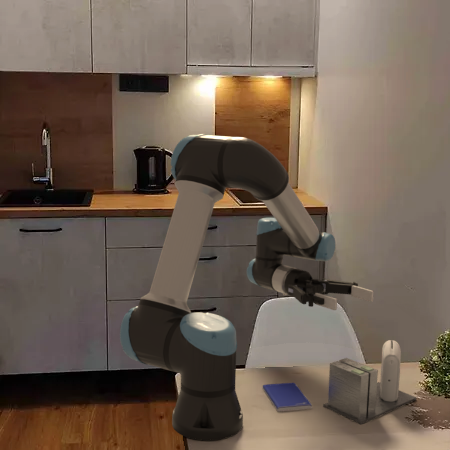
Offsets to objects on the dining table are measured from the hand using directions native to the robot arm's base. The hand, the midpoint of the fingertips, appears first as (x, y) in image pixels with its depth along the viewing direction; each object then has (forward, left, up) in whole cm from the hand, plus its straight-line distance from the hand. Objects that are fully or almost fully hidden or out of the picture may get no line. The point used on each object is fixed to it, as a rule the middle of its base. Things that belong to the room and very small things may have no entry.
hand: (354, 300), depth 175 cm
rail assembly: (-7, -12, -20) cm, 25 cm away
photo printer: (-1, -12, -20) cm, 23 cm away
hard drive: (-21, +2, -21) cm, 30 cm away
